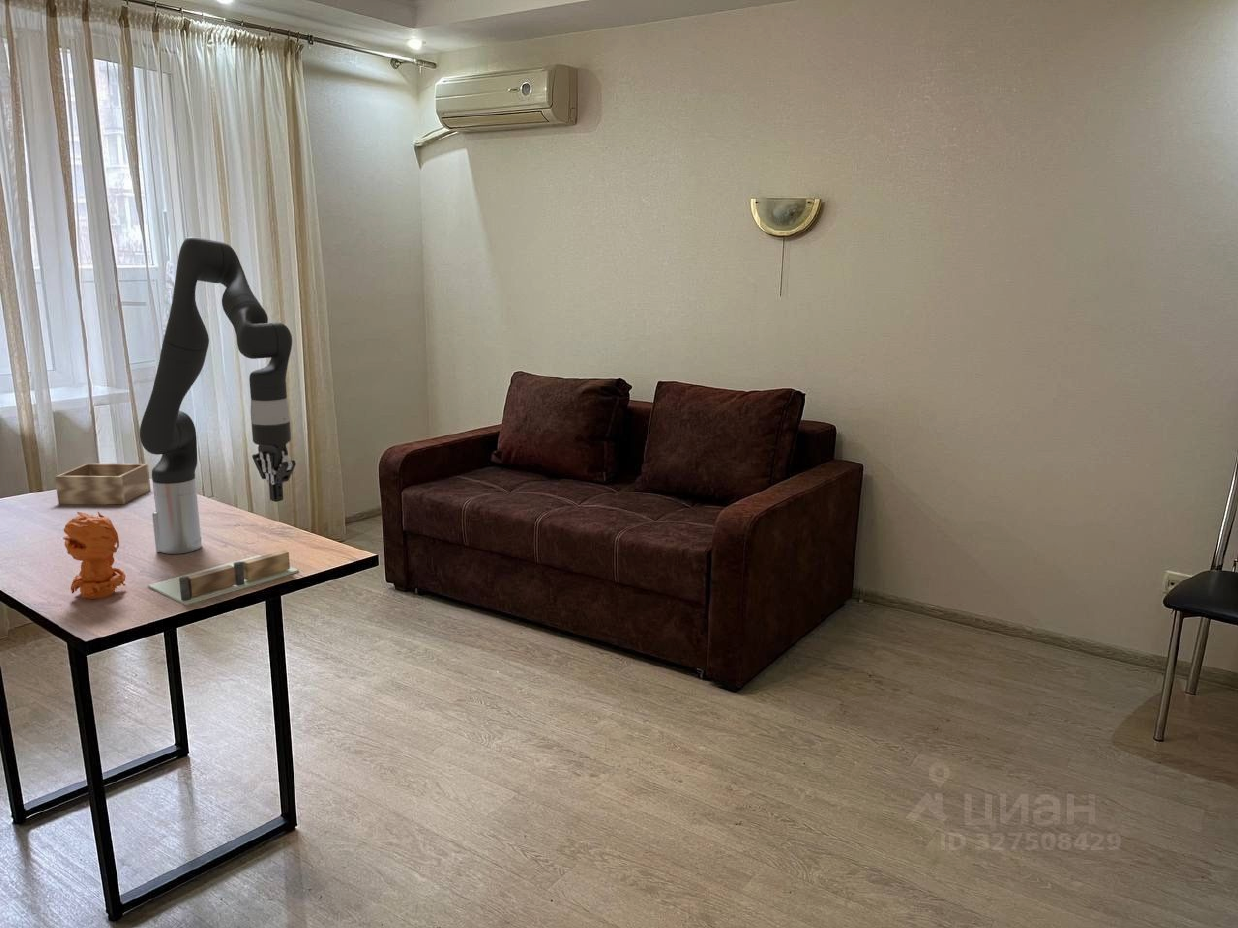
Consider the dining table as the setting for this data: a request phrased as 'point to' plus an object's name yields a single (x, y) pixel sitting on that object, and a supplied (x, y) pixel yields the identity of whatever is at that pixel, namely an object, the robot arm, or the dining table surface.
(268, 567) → the rail
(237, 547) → the dining table surface
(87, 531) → the toy dinosaur
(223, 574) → the fence fixed
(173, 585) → the card
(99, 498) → the toy crate
